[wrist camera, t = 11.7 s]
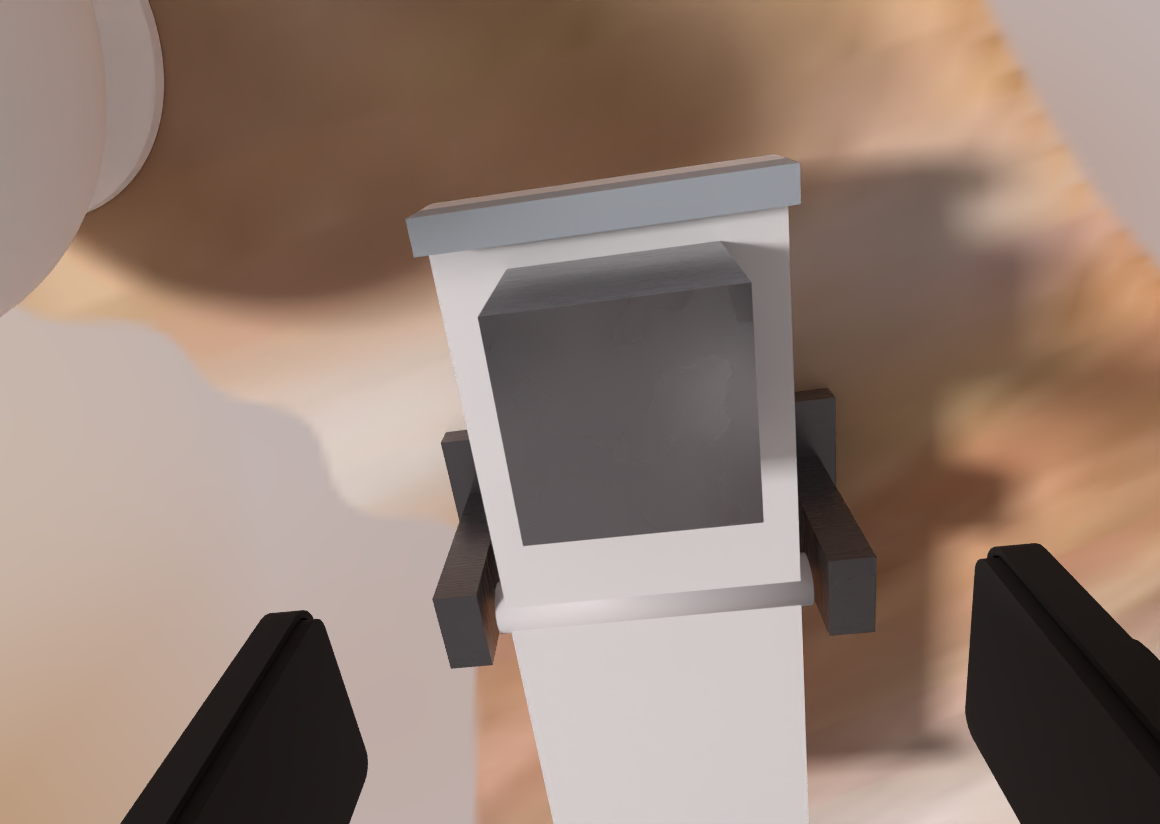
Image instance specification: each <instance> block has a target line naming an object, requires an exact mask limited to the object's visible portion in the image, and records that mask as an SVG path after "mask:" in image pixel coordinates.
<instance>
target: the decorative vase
mask: <svg viewBox="0 0 1160 824" xmlns="http://www.w3.org/2000/svg"><path fill="white" fill-rule="evenodd" d="M163 99H164V67H163V57H162V50H161V44H160V39H159V35H158V30H157V27H156V23H155V19H154V16H153V13H152V10H151V7H150V4H149V1H148V0H0V317H1V316H2V315H4V314H5V313H6V312H8V311H9V310H11V309H12V308H13V307H15V306H16V305H17V304H19V303H20V302H21V301H22V300H23V299H24V298H26V297H27V296H28V295H29V294H30V293H31V292H32V291H33V290H34V289H35V288H36V287H37V286H38V285H39V284H40V283H41V282H42V281H43V280H44V279H45V278H46V277H47V275H48V274H49V273H50V272H51V271H52V270H53V268H54V267H55V266H56V265H57V263H58V262H59V261H60V259H61V258H62V256H63V255H64V253H65V252H66V250H67V249H68V247H69V246H70V244H71V242H72V241H73V239H74V237H75V235H76V233H77V232H78V230H79V228H80V226H81V224H82V221H83V219H84V217H85V215H86V213H88V212H90V211H92V210H94V209H96V208H98V207H100V206H102V205H104V204H105V203H107V202H108V201H110V200H111V199H113V198H114V197H115V196H117V195H118V194H119V193H120V192H121V191H122V190H123V189H124V188H125V187H126V186H127V185H128V184H129V183H130V182H131V181H132V180H133V179H134V177H135V176H136V175H137V173H138V172H139V171H140V169H141V168H142V166H143V164H144V163H145V161H146V159H147V157H148V155H149V153H150V151H151V149H152V146H153V144H154V141H155V138H156V135H157V132H158V129H159V125H160V120H161V115H162V109H163Z"/></svg>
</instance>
